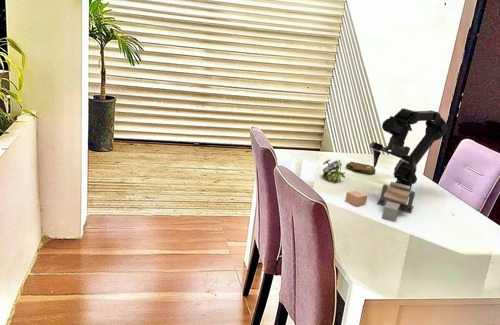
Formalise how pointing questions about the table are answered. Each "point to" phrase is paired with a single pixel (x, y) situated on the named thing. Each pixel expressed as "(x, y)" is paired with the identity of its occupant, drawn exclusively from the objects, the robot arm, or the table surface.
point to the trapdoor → (397, 193)
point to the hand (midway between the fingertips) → (384, 171)
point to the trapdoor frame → (402, 207)
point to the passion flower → (334, 167)
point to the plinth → (356, 198)
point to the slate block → (390, 211)
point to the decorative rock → (361, 167)
